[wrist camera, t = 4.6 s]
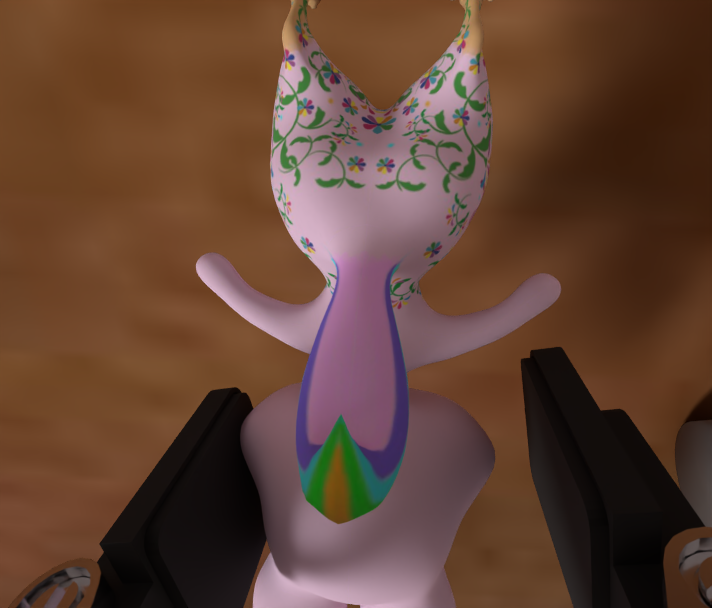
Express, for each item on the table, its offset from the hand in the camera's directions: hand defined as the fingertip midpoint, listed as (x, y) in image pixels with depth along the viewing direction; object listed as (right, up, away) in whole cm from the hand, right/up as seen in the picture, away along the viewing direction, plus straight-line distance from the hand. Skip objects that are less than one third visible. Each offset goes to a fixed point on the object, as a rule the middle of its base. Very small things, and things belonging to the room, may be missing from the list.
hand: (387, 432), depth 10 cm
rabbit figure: (0, +1, +1) cm, 2 cm away
